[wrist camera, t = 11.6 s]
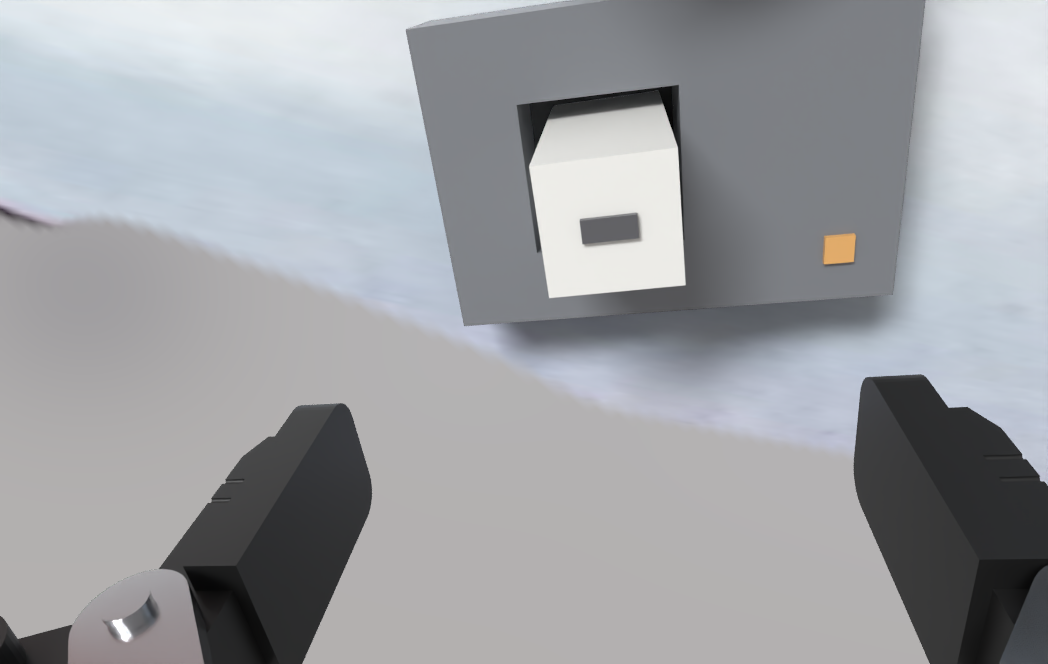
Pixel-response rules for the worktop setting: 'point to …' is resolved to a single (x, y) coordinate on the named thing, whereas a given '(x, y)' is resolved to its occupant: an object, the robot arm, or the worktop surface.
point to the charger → (609, 197)
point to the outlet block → (683, 142)
